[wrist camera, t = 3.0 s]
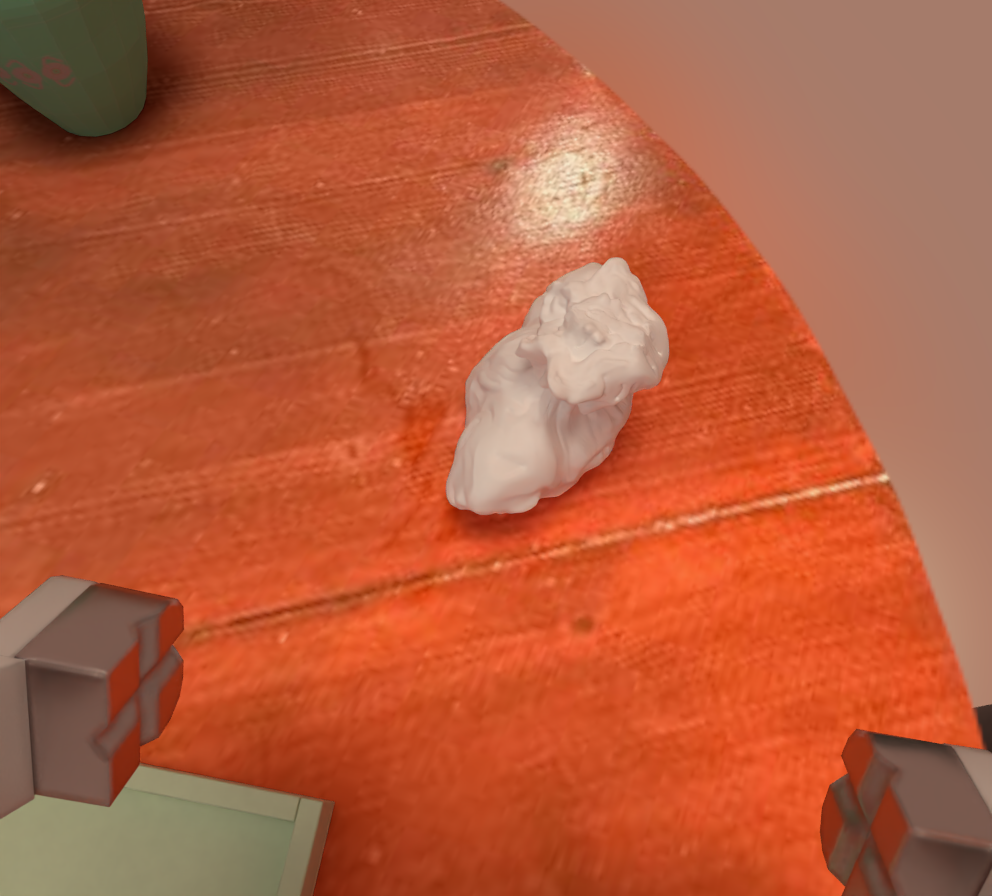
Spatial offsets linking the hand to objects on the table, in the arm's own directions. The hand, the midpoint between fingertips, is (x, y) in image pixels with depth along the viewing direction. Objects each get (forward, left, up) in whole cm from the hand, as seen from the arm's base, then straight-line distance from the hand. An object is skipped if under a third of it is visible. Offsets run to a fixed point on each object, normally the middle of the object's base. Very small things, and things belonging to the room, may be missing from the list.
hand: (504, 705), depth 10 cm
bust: (0, -14, -23) cm, 27 cm away
